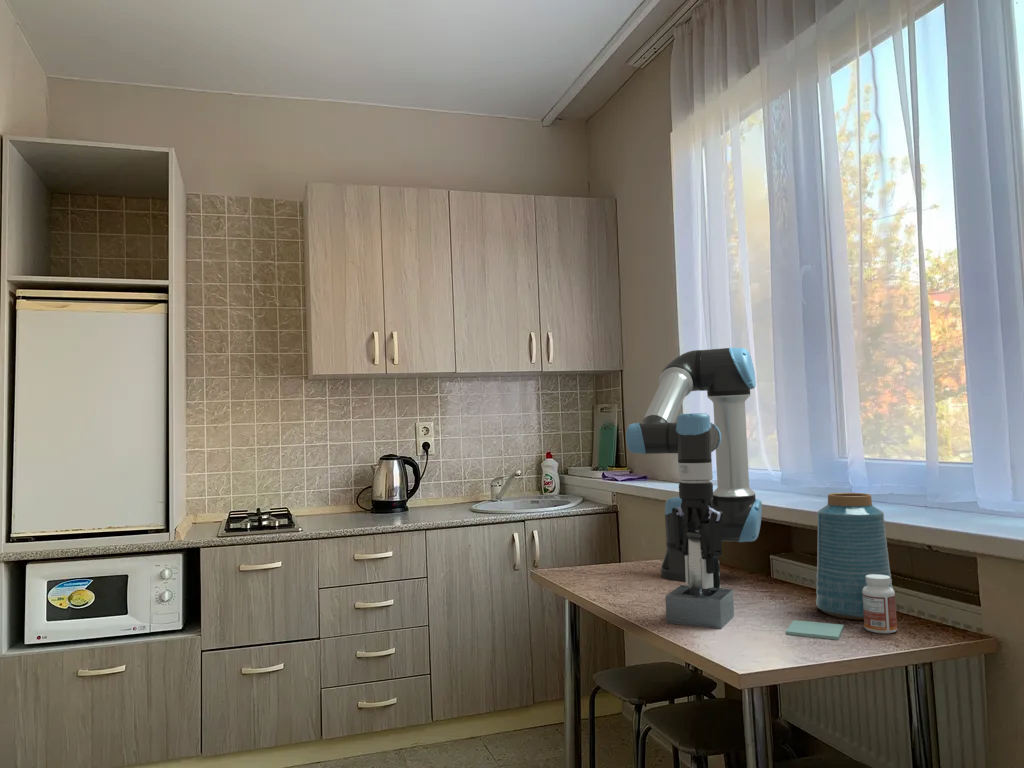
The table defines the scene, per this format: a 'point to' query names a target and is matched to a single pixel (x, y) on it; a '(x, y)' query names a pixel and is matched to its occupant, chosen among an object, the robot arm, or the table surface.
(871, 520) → the vase
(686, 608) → the block
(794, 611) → the table surface
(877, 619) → the pill bottle
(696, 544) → the glass tube
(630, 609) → the table surface
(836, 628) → the mat
